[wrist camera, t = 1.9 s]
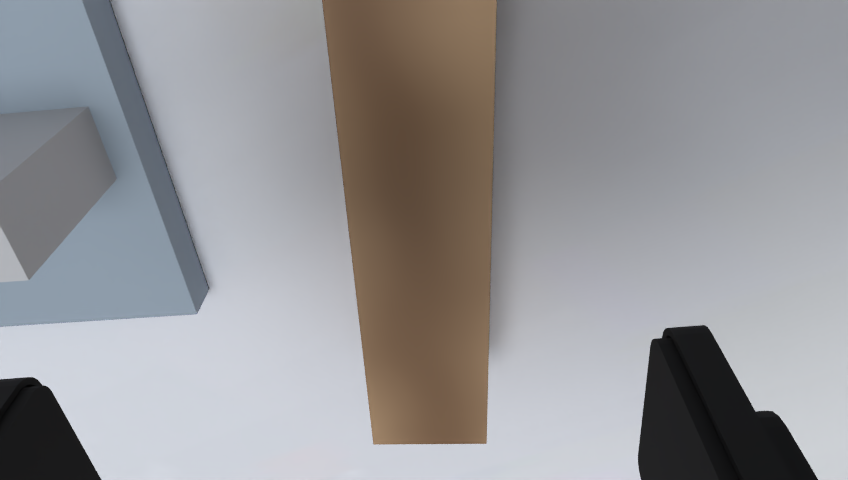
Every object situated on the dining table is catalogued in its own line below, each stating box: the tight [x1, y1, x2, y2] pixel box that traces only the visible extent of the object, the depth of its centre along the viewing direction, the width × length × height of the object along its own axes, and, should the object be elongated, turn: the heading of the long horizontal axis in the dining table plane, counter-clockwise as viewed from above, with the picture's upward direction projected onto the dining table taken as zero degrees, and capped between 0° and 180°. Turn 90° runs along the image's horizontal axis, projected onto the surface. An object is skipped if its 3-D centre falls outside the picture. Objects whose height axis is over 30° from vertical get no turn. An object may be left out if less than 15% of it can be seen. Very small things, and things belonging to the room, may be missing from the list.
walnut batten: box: [322, 0, 497, 444], centre depth 20 cm, size 4×22×5 cm, turn 2°
